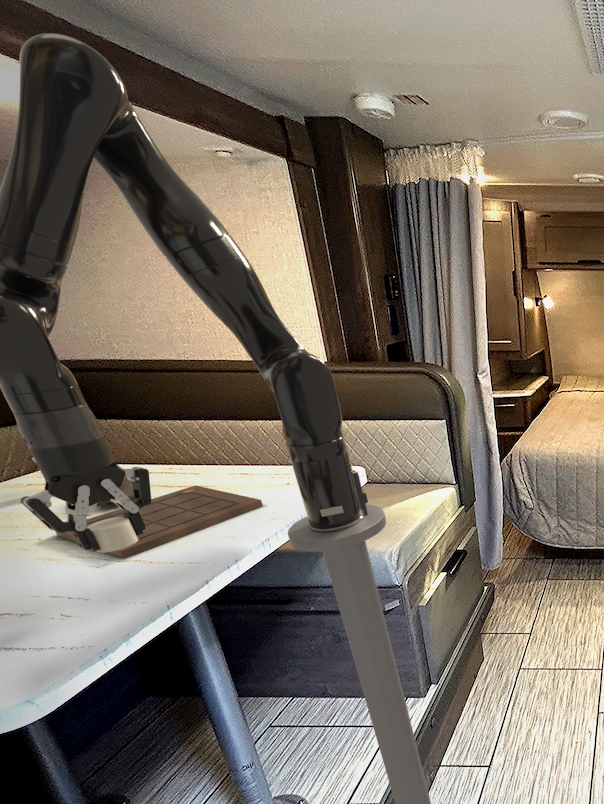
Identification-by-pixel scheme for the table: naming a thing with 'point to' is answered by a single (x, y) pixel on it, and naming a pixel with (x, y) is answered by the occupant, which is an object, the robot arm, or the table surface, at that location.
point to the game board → (178, 516)
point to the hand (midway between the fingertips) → (116, 541)
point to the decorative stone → (125, 488)
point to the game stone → (113, 534)
